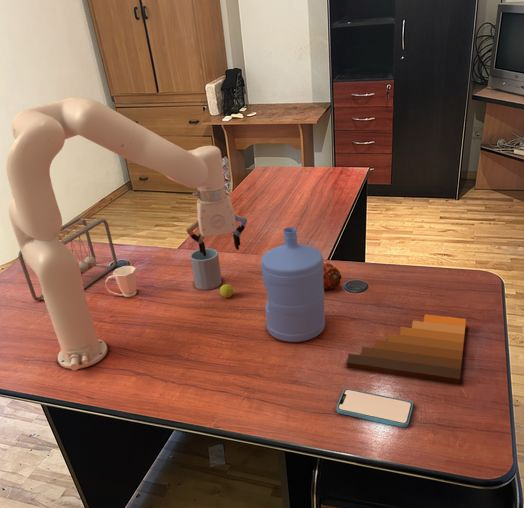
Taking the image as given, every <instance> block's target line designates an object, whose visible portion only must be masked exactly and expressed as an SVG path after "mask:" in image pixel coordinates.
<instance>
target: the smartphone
mask: <svg viewBox="0 0 524 508" xmlns="http://www.w3.org/2000/svg"><path fill="white" fill-rule="evenodd" d="M413 407H414V404H413V402H412V401H410V400H407V399H402V398H398V397H397V398H396V397H392V396H387V395H383V394H376V393H372V392H367V391H362V390H357V389H352V388H344V389H343V391H342V393H341V396H340V398H339V401H338V402H337V405H336V412H337V413H338V414H341V415H346V416H349V417H355V418H359V419H363V420H369V421H372V422H376V423H382V424H386V425H391V426H395V427H400V428H407V427H408V426H409V423H410V419H411V416H412V412H413Z"/></svg>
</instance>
